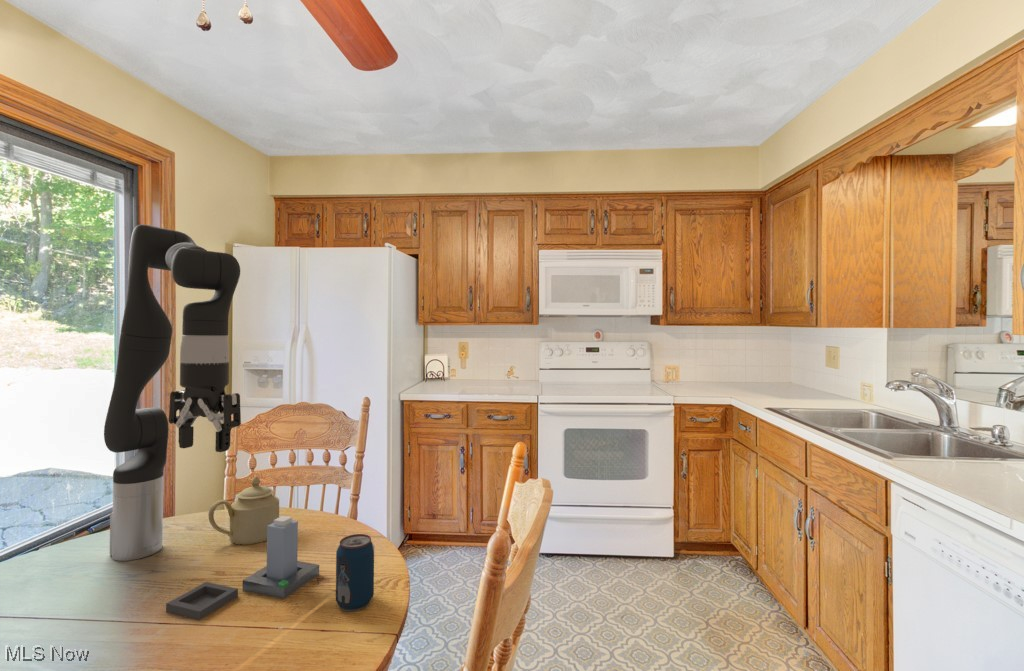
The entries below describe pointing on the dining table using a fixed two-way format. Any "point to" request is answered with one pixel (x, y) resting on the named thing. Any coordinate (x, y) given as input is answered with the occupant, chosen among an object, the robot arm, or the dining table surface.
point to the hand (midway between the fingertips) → (203, 449)
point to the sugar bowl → (249, 514)
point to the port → (277, 587)
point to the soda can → (354, 572)
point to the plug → (282, 548)
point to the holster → (202, 600)
